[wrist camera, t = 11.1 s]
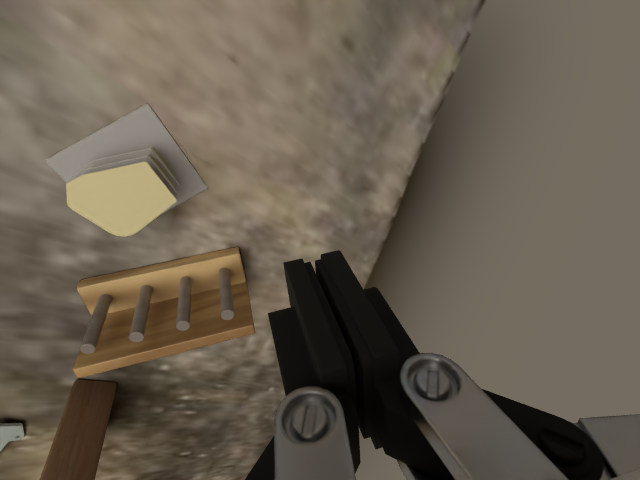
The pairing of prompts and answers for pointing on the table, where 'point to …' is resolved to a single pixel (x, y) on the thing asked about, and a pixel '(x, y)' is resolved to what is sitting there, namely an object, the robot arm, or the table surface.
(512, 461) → the robot arm
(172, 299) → the peg rack
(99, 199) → the stacked layers on plate
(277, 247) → the table surface
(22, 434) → the metal bracket
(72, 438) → the wooden block
